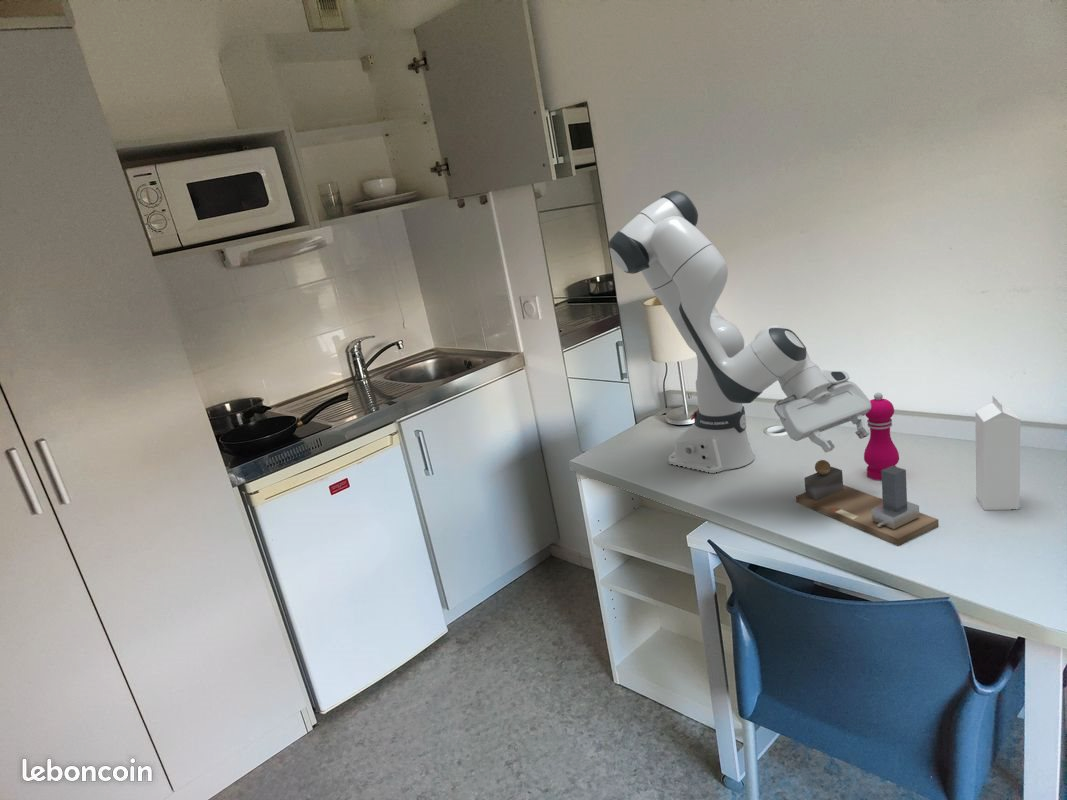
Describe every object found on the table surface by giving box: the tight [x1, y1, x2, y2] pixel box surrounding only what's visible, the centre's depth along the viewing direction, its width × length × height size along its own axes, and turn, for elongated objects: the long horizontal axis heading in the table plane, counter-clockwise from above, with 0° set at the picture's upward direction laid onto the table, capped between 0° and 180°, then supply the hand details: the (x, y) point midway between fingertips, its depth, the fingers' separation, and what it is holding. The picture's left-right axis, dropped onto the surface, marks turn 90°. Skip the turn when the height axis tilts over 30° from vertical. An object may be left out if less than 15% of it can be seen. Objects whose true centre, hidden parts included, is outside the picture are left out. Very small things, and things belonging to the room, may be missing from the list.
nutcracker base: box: [795, 459, 939, 547], centre depth 142 cm, size 26×11×9 cm, turn 24°
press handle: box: [871, 465, 920, 529], centre depth 134 cm, size 5×8×10 cm, turn 114°
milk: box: [975, 395, 1021, 511], centre depth 134 cm, size 6×6×22 cm
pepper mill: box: [863, 392, 900, 481], centre depth 155 cm, size 7×7×20 cm
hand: (848, 443), depth 140 cm, fingers open, 8 cm apart
